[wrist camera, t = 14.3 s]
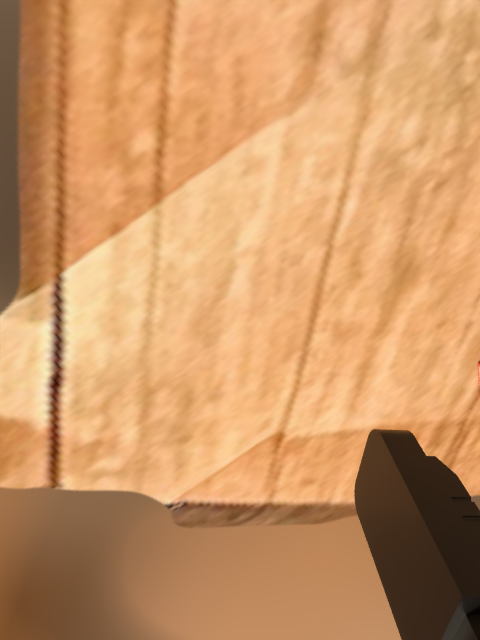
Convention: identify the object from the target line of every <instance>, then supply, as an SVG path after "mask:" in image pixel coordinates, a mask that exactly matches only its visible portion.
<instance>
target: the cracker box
mask: <svg viewBox="0 0 480 640" xmlns="http://www.w3.org/2000/svg"><path fill="white" fill-rule="evenodd" d="M478 372H479V385H480V362H479V363H478Z"/></svg>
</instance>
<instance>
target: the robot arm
mask: <svg viewBox="0 0 480 640" xmlns="http://www.w3.org/2000/svg"><path fill="white" fill-rule="evenodd" d="M355 505H356V510H357V514H358V517H359V520H360V522H361V525H362V528H363V531H364V534H365V537H366V540H367V542H368V545H369V548H370V551H371V554H372V557H373V559H374V562H375V565H376V568H377V571H378V574H379V576H380V579H381V582H382V585H383V587H384V590H385V593H386V596H387V599H388V602H389V605H390V607H391V610H392V613H393V616H394V619H395V622H396V625H397V627H398V630H399V633H400V636H401V639H402V640H480V511H479V509H478V507H477V506H476V504H475V503H474V502H471V496H470V495H469V493H468V492H467V490H466V489H465V487H464V486H463V484H462V483H461V481H460V479H459V478H458V476H457V475H456V474H455V473H454V472H452V471H451V470H450V469H449V468H448V467H447V466H446V465H445V464H443V463H442V462H441V461H440V460H439V459H438V458H437V457H435V456H426V455H425V453H424V452H423V450H422V448H421V447H420V445H419V443H418V442H417V440H416V438H415V436H414V435H413V434H412V433H411V432H410V431H407V430H380V429H374V430H372V431H371V432H370V434H369V436H368V439H367V443H366V446H365V450H364V453H363V457H362V461H361V464H360V468H359V471H358V475H357V479H356V483H355Z"/></svg>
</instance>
